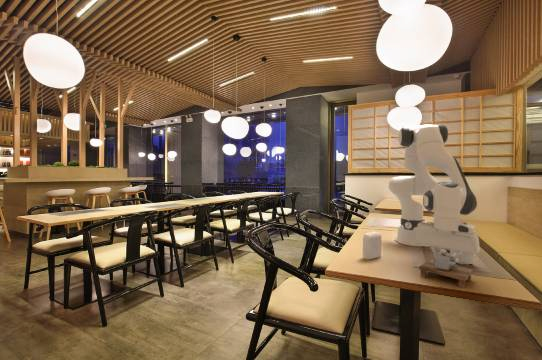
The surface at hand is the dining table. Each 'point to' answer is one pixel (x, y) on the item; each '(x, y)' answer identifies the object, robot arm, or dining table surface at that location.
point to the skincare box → (465, 258)
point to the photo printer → (371, 245)
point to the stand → (447, 272)
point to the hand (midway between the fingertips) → (445, 259)
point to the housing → (445, 259)
